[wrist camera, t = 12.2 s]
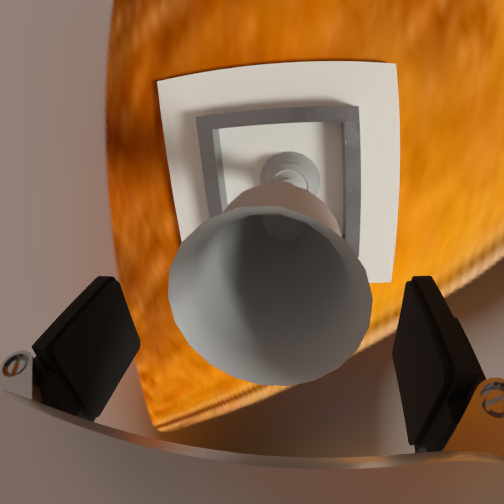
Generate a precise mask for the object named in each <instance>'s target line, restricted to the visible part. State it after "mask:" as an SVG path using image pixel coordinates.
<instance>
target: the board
mask: <svg viewBox="0 0 504 504" xmlns="http://www.w3.org/2000/svg"><path fill="white" fill-rule="evenodd" d="M157 85H158V94H159V102H160V110H161V118H162V126H163V133H164V140H165V147H166V154H167V160H168V167H169V173H170V179H171V185H172V191H173V197H174V203H175V208H176V214H177V219H178V225H179V230H180V235H181V241H182V242H183V241H184V240H185V239H186V238H187V237H188V236H189V235H190V234H191V233H192V232H193V231H194V230H195V229H196V228H197V227H199V226H200V225H201V224H202V223H203V222H204V221H205V220H207V219H209V213H208V206H207V199H206V192H205V185H204V178H203V171H202V163H201V156H200V148H199V140H198V132H197V124H196V117H198V116H205V115H212V114H220V113H228V112H238V111H248V110H259V109H272V108H288V107H311V106H359V120H360V145H361V217H360V244H359V257H358V259H359V260H360V262H361V263H362V265H363V266H364V268H365V269H366V273H367V277H368V281H369V283H380V282H391V278H392V270H393V262H394V253H395V243H396V232H397V219H398V203H399V179H400V121H399V98H398V82H397V70H396V64H394V63H380V62H358V61H311V62H289V63H274V64H262V65H252V66H243V67H235V68H228V69H221V70H214V71H208V72H202V73H196V74H190V75H185V76H180V77H175V78H170V79H166V80H161V81H157ZM219 136H220V145H221V153H222V162H223V170H224V178H225V187H226V195H227V203H228V205H229V204H230V203H231V202H232V201H233V200H234V199H235V198H236V197H238V196H239V195H240V194H241V193H242V192H243V191H245V190H248V189H250V188H253V187H255V186H258V185H260V184H261V182H260V176H261V172H262V168H263V167H264V165H265V164H266V162H267V161H268V160H269V159H270V158H272V157H273V156H274V155H276V154H279V153H281V152H289V151H294V152H297V153H301V154H303V155H305V156H306V157H308V158H309V159H311V160H312V162H313V163H314V164H315V165H316V167H317V169H318V172H319V174H320V188H319V191H318V194H317V195H316V197H318V198H319V199H320V200H322V201H323V202H324V203H325V204H326V205H327V207H328V208H329V210H330V211H331V213H332V214H333V215H334V217H335V218H336V220H337V222H338V226H339V229H340V232H341V235H343V159H342V134H341V122H302V123H281V124H266V125H253V126H242V127H231V128H222V129H219Z"/></svg>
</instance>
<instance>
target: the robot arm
mask: <svg viewBox="0 0 504 504" xmlns="http://www.w3.org/2000/svg"><path fill="white" fill-rule="evenodd" d="M32 348H33V350H34V352H35V354H36V357H35V358H33V356H32V355H31V353H29V352H27V351H18V352H15V353H13V354H11V355H10V356H8V357H7V358H6V359H5V360H4V361H3V363H2V364H1V366H0V504H504V379H502V378H489V379H486V378H485V375H484V373H483V371H482V369H481V366H480V364H479V362H478V360H477V358H476V355H475V353H474V351H473V349H472V347H471V345H470V342H469V340H468V338H467V336H466V334H465V332H464V330H463V328H462V326H461V324H460V323H459V321H458V319H457V318H456V317H453V315H452V313H451V311H450V309H449V307H448V305H447V303H446V301H445V300H444V298H443V296H442V294H441V292H440V290H439V289H438V287H437V285H436V283H435V282H434V280H433V278H432V277H431V276H413V277H412V280H411V281H407V282H406V285H405V291H404V297H403V302H402V307H401V313H400V318H399V323H398V327H397V332H396V336H395V341H394V345H393V352H392V355H393V361H394V366H395V370H396V375H397V380H398V385H399V390H400V395H401V401H402V406H403V412H404V417H405V423H406V429H407V436H408V441H409V444H410V445H414V446H415V453H413V454H399V455H388V456H374V457H355V458H354V457H351V458H299V457H298V458H297V457H277V456H262V455H252V454H242V453H234V452H225V451H218V450H211V449H205V448H198V447H193V446H187V445H181V444H177V443H172V442H167V441H162V440H158V439H153V438H149V437H145V436H141V435H137V434H132V433H129V432H125V431H122V430H118V429H114V428H111V427H108V426H104V425H101V424H98V423H95V422H94V420H95V418H96V417H98V416H99V415H100V414H101V413H102V411H103V409H104V407H105V406H106V404H107V402H108V401H109V399H110V397H111V395H112V394H113V392H114V390H115V389H116V387H117V385H118V383H119V382H120V380H121V378H122V377H123V375H124V373H125V372H126V370H127V368H128V367H129V365H130V363H131V362H132V360H133V358H134V357H135V355H136V354H137V352H138V350H139V348H140V339H139V336H138V334H137V331H136V328H135V326H134V323H133V320H132V318H131V315H130V312H129V309H128V306H127V303H126V301H125V298H124V295H123V292H122V289H121V286H120V283H119V282H118V281H116V279H115V278H114V277H110V276H98V277H97V278H96V279H95V280H94V281H93V282H92V283H91V284H90V285H89V286H88V287H87V288H86V289H85V290H84V291H83V292H82V293H81V294H80V295H79V296H78V297H77V298H76V299H75V300H74V301H73V302H72V303H71V304H70V305H69V307H67V308H66V309H65V311H64V312H63V313H62V314H61V315H60V316H59V317H58V318H57V319H56V320H55V321H54V322H53V323H52V324H51V325H50V327H49V328H48V329H47V330H46V331H45V332H44V333H43V334H42V335H41V336H40V338H39V339H38V340H37V341H36V342H35V343H34V344H33V345H32Z"/></svg>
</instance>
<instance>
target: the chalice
mask: <svg viewBox="0 0 504 504" xmlns="http://www.w3.org/2000/svg"><path fill="white" fill-rule="evenodd" d="M260 182H261V184H260V185H258V186H255V187H253V188H250V189H248V190H245V191H243V192H242V193H241V194H240V195H239V196H238V197H236V198H235V199H234V200H233V201H232V202H231V203H230V204H229V205H228V206H227V207H226V209H225V210H224V212H223V213H222V214H220V215H217V216H215V217H212V218H210V219H207V220H205V221H204V222H203V223H202V224H201V225H200V226H199V227H197V228H196V229H195V230H194V231H193V232H192V233H191V234H190V235H189V236H188V237H187V238H186V239H185V240H184V241H183V242H182V243H181V245H180V247H179V249H178V251H177V254H176V256H175V258H174V260H173V263H172V265H171V267H170V270H169V288H168V298H169V302H170V305H171V309H172V312H173V316H174V319H175V323H176V324H177V326H178V327H179V329H180V331H181V332H182V334H183V335H184V337H185V338H186V340H187V342H188V343H189V345H190V346H191V347H192V348H193V349H194V350H195V351H197V352H198V353H199V354H200V355H201V356H202V357H203V358H204V359H205V360H206V361H207V362H208V363H210V364H211V365H213V366H215V367H217V368H218V369H220V370H222V371H224V372H225V373H227V374H229V375H231V376H233V377H235V378H239V379H242V380H246V381H249V382H253V383H256V384H260V385H280V386H289V385H294V384H299V383H304V382H308V381H313V380H316V379H318V378H320V377H322V376H324V375H326V374H327V373H330V372H332V371H333V370H336V369H337V368H339V367H340V366H341V365H342V364H343V363H344V362H345V361H346V360H347V359H348V358H349V357H350V356H351V355H352V354H353V353H354V352H355V351H356V350H357V349H358V347H359V345H360V343H361V341H362V340H363V338H364V336H365V334H366V332H367V330H368V328H369V324H370V316H371V308H372V300H373V299H372V294H371V290H370V286H369V281H368V277H367V273H366V269H365V268H364V266H363V265H362V263H361V262H360V260H359V259H358V257H357V256H356V254H355V253H354V251H353V250H352V248H351V247H350V245H349V244H348V242H347V241H346V240H344V239H343V238H342V235H341V232H340V229H339V226H338V222H337V220H336V218H335V217H334V215H333V214H332V213H331V211H330V210H329V208H328V207H327V205H326V204H325V203H324V202H323V201H322V200H320V199H319V198H318V197H316V195H317V194H318V191H319V188H320V174H319V172H318V169H317V167H316V165H315V164H314V163H313V162H312V160H311V159H309V158H308V157H306V156H305V155H303V154H301V153H297V152H294V151H289V152H281V153H279V154H276V155H274V156H273V157H272V158H270V159H269V160H268V161H267V162H266V164H265V165H264V167H263V168H262V172H261V176H260Z"/></svg>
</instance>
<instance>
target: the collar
mask: <svg viewBox="0 0 504 504" xmlns="http://www.w3.org/2000/svg"><path fill="white" fill-rule="evenodd" d="M302 122H341V134H342V159H343V235H342V238H343V239H344V240H346V241H347V242H348V244H349V245H350V247H351V248H352V250H353V251H354V253H355V254H356V256H357V257H359V244H360V217H361V145H360V120H359V106H311V107H288V108H272V109H259V110H248V111H238V112H228V113H220V114H212V115H205V116H198V117H196V124H197V132H198V140H199V148H200V156H201V163H202V171H203V178H204V185H205V192H206V199H207V206H208V213H209V219H210V218H212V217H215V216H217V215H220V214H222V213H223V212H224V210H225V209H226V207H227V206H228V203H227V195H226V187H225V178H224V170H223V162H222V153H221V145H220V136H219V129H222V128H231V127H242V126H253V125H266V124H281V123H302Z"/></svg>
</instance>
